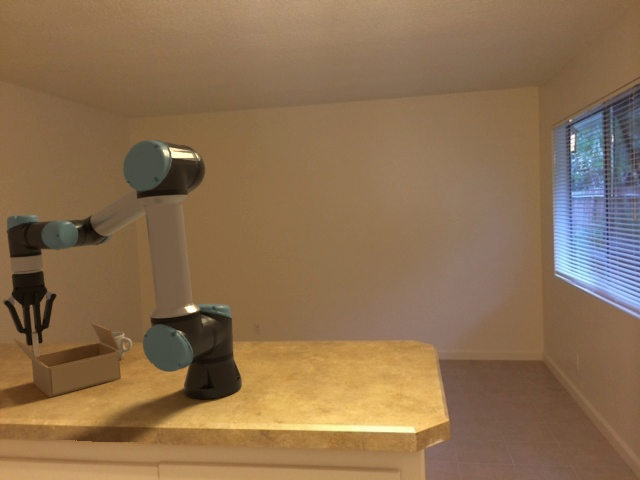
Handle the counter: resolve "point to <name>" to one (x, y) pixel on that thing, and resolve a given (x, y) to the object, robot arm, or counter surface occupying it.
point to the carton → (76, 369)
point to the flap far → (105, 336)
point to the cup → (120, 343)
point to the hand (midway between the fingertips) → (35, 355)
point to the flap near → (28, 352)
